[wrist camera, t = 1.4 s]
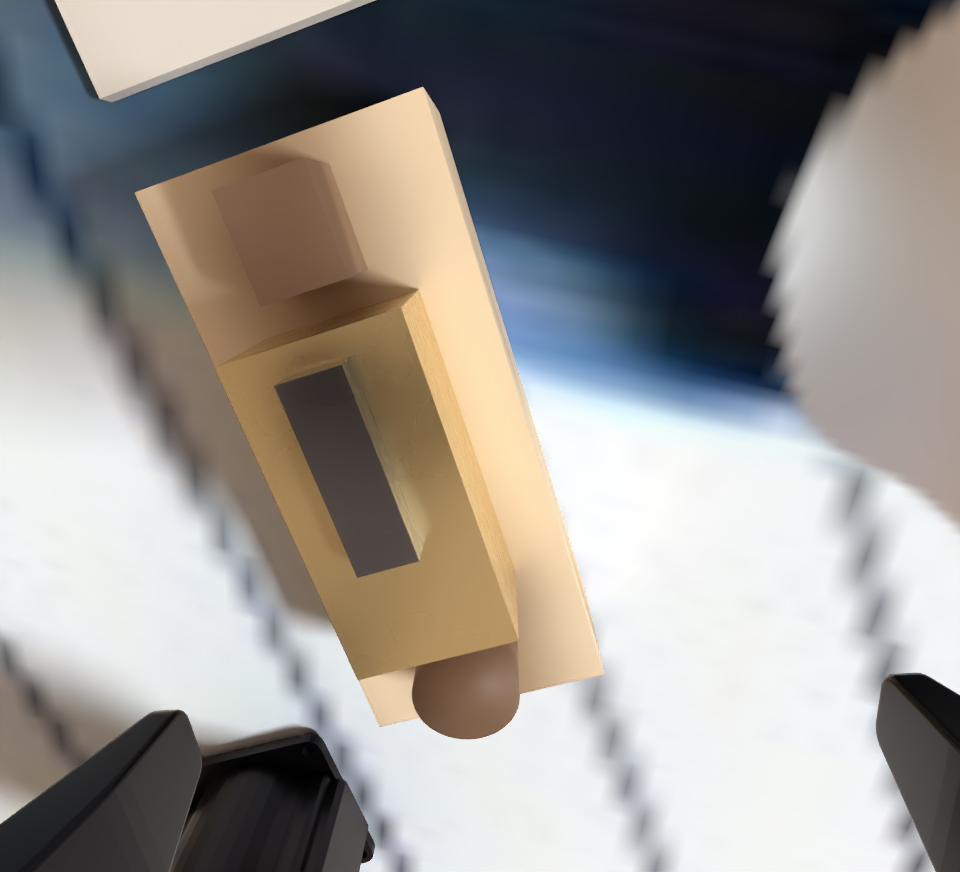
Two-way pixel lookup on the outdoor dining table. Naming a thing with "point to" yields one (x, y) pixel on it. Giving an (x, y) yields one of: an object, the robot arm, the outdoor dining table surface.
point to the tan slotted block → (379, 484)
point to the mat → (178, 35)
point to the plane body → (458, 330)
